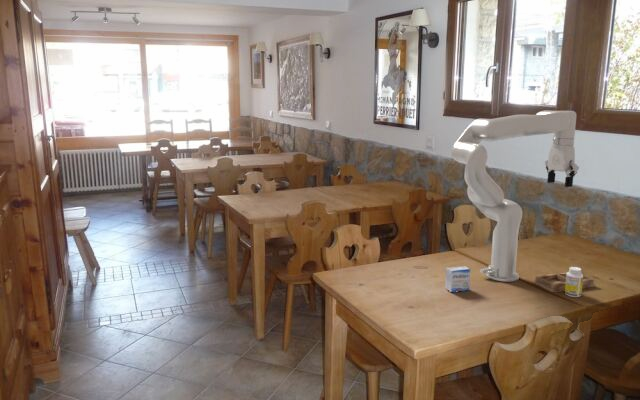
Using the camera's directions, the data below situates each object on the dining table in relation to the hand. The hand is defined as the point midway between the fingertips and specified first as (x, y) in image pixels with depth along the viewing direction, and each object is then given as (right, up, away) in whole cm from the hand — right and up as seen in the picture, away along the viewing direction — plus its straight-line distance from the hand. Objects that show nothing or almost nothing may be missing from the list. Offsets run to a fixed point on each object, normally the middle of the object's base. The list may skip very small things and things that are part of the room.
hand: (559, 184), depth 207 cm
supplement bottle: (-4, -41, -18) cm, 45 cm away
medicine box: (-45, -41, -12) cm, 62 cm away
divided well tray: (-2, -39, -8) cm, 40 cm away
